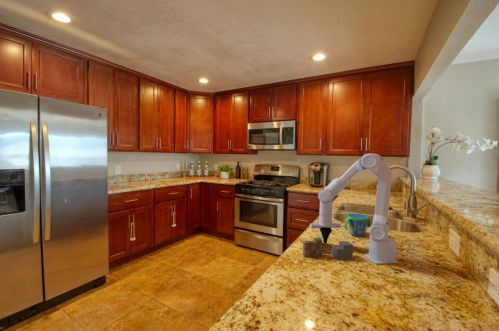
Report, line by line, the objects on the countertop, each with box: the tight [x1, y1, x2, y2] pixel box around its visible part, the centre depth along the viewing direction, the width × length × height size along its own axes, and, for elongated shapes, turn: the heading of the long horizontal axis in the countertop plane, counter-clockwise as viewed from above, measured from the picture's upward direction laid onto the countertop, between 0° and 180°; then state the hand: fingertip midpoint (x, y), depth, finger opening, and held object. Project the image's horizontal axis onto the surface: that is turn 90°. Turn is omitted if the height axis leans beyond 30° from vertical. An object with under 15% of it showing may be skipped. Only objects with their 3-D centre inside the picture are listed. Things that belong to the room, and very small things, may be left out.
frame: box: [302, 237, 332, 258], centre depth 97 cm, size 21×4×7 cm, turn 96°
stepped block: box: [331, 240, 354, 260], centre depth 95 cm, size 7×4×6 cm, turn 96°
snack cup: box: [343, 212, 372, 237], centre depth 121 cm, size 16×10×10 cm
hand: (324, 242), depth 107 cm, fingers closed
